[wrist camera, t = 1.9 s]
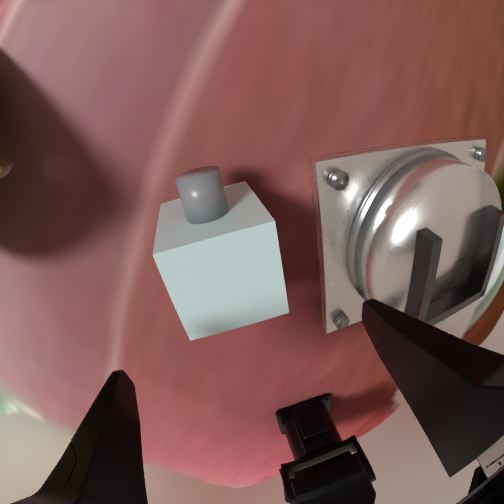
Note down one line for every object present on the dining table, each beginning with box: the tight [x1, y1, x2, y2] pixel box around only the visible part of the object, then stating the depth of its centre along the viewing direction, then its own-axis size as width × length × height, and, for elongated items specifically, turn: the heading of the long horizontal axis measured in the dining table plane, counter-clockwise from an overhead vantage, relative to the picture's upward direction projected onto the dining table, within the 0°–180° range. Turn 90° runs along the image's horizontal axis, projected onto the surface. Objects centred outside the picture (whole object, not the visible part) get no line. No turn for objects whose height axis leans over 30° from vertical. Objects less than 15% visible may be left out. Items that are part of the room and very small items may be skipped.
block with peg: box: [153, 166, 289, 340], centre depth 15 cm, size 7×5×6 cm
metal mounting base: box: [309, 137, 504, 334], centre depth 19 cm, size 14×17×6 cm
